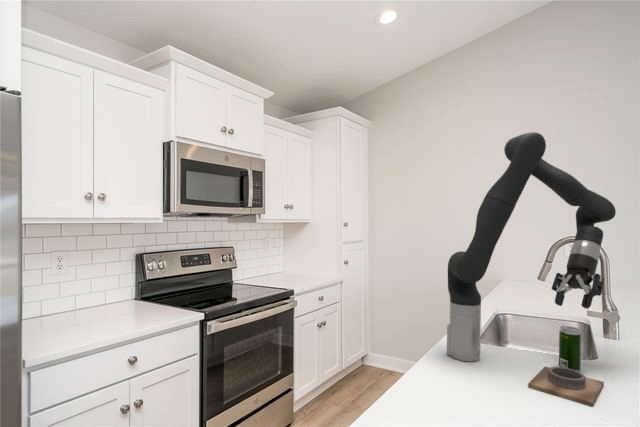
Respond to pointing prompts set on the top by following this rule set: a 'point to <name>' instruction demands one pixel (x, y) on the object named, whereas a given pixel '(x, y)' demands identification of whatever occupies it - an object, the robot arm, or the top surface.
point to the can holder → (567, 384)
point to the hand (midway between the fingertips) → (571, 306)
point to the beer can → (570, 348)
